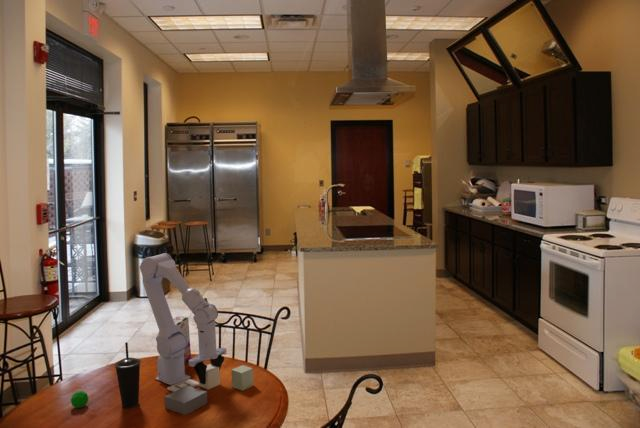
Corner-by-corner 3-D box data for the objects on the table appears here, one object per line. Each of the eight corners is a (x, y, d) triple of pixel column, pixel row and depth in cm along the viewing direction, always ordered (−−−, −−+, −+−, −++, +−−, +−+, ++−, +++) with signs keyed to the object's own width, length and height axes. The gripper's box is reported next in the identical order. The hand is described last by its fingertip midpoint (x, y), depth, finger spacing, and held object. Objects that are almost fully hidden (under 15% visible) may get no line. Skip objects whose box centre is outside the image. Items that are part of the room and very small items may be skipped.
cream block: (198, 385, 175) (197, 368, 174) (210, 380, 178) (209, 364, 178) (208, 389, 171) (207, 372, 171) (220, 384, 175) (219, 367, 175)
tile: (167, 389, 172) (167, 387, 172) (189, 380, 179) (189, 378, 179) (178, 394, 169) (178, 391, 169) (200, 384, 176) (200, 382, 176)
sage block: (232, 387, 173) (231, 369, 172) (243, 382, 177) (242, 365, 176) (242, 390, 170) (241, 373, 169) (253, 385, 174) (252, 368, 173)
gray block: (165, 408, 159) (164, 396, 159) (187, 397, 167) (186, 385, 166) (185, 416, 154) (184, 403, 154) (207, 404, 162) (206, 391, 161)
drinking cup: (118, 412, 157) (114, 348, 155) (116, 402, 164) (111, 341, 162) (145, 406, 160) (141, 344, 158) (141, 397, 167) (137, 337, 165)
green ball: (71, 405, 163) (70, 390, 162) (88, 401, 165) (87, 387, 164) (71, 411, 158) (70, 396, 158) (88, 408, 160) (87, 393, 160)
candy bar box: (179, 356, 202) (177, 315, 201) (191, 357, 201) (189, 316, 200) (165, 367, 192) (163, 324, 190) (178, 368, 191) (175, 325, 189)
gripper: (197, 350, 165) (199, 391, 167) (231, 337, 177) (233, 376, 178) (183, 345, 170) (186, 385, 171) (218, 333, 181) (219, 371, 182)
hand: (209, 380), depth 175 cm, fingers closed on cream block, 5 cm apart
